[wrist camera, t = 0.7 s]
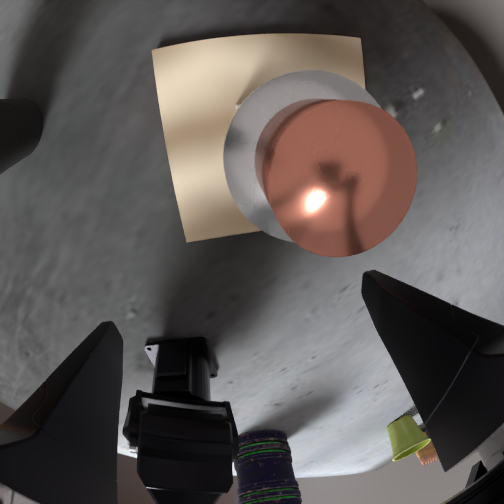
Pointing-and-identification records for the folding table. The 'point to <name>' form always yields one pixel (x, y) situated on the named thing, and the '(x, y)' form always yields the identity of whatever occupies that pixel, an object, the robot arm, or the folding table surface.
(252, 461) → the storage jar
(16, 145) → the drinking cup
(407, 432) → the plant pot
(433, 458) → the ammunition clip
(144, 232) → the folding table surface
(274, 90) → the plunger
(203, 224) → the stand
